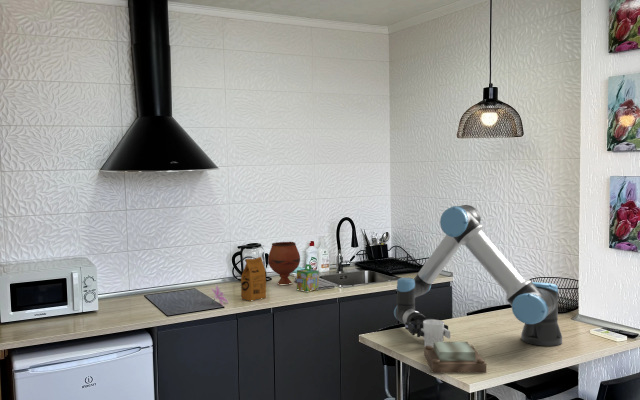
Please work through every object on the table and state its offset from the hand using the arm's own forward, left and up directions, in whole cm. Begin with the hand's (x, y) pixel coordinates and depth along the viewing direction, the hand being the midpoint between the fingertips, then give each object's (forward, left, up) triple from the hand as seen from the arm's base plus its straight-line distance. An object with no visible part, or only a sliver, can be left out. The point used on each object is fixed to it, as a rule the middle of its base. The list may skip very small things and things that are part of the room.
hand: (439, 335), depth 216 cm
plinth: (-3, +13, -6) cm, 15 cm away
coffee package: (+82, -92, -6) cm, 123 cm away
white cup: (+1, -5, -6) cm, 8 cm away
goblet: (+69, -131, -6) cm, 148 cm away
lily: (+98, -79, -6) cm, 126 cm away
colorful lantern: (+54, -113, -6) cm, 125 cm away
